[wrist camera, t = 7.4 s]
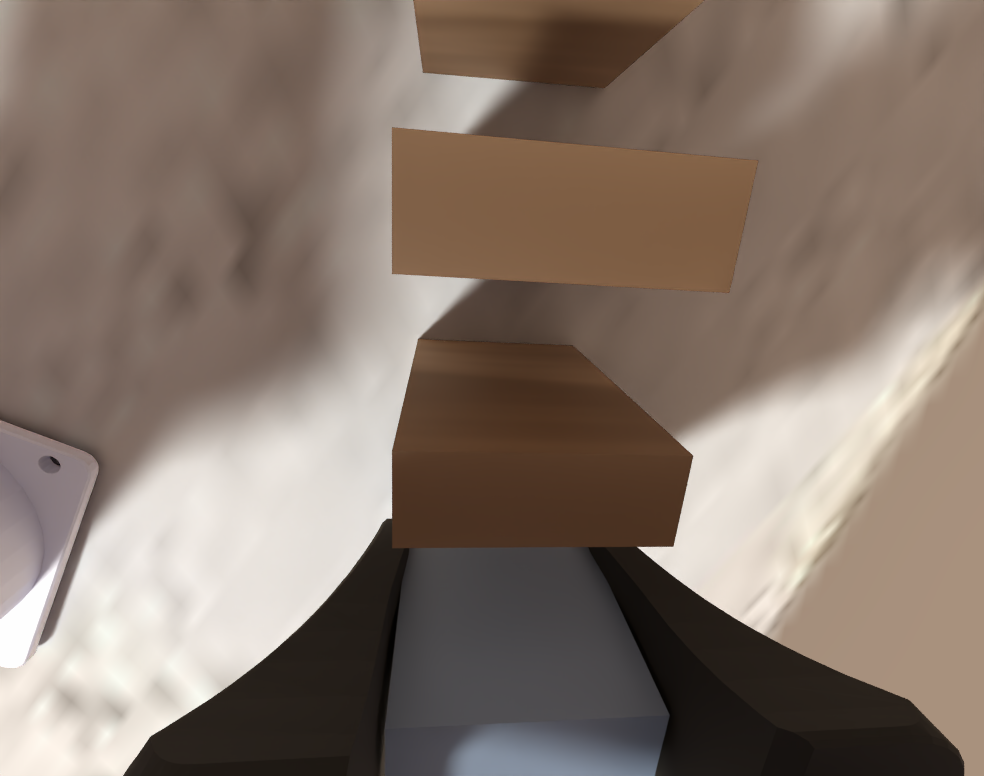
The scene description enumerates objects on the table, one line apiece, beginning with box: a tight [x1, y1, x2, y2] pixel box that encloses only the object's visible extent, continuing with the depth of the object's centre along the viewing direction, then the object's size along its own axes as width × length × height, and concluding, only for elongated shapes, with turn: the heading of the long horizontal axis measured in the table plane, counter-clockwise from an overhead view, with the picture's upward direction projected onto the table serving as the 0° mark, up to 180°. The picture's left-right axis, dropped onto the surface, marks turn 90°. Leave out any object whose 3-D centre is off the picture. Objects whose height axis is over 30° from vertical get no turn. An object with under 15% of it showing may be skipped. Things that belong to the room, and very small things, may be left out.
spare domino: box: [385, 547, 670, 776], centre depth 11 cm, size 2×4×7 cm, turn 86°
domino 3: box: [392, 127, 758, 293], centre depth 9 cm, size 2×4×7 cm, turn 86°
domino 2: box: [392, 339, 693, 548], centre depth 10 cm, size 2×4×7 cm, turn 86°
